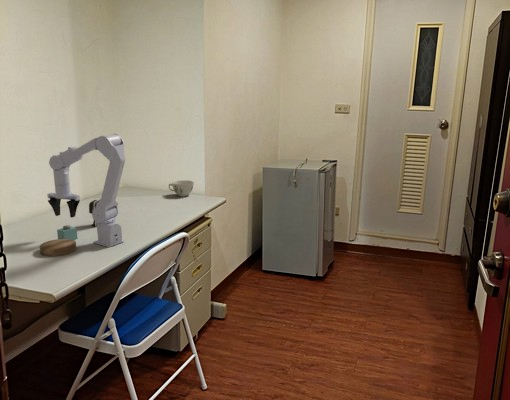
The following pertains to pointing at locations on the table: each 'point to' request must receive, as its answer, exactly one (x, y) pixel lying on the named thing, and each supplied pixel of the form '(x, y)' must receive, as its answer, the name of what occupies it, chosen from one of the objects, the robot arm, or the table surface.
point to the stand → (58, 247)
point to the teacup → (182, 187)
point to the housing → (67, 233)
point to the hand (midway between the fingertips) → (65, 216)
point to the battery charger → (92, 207)
